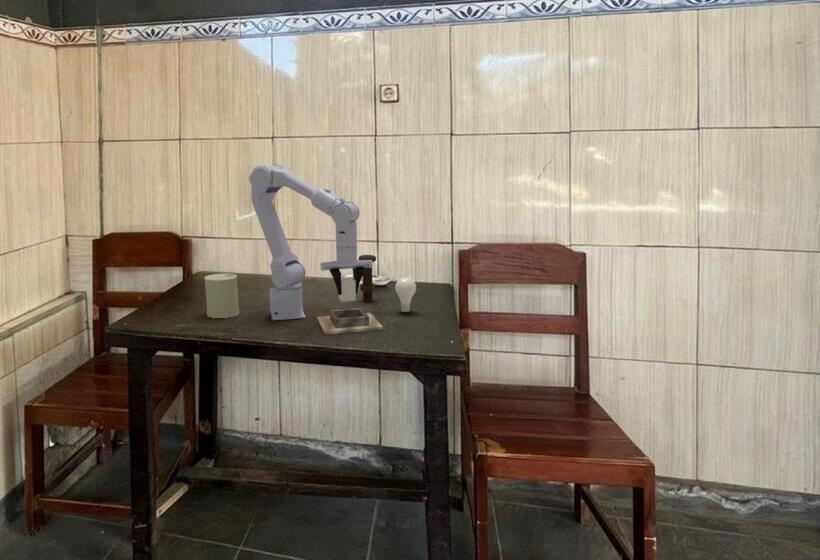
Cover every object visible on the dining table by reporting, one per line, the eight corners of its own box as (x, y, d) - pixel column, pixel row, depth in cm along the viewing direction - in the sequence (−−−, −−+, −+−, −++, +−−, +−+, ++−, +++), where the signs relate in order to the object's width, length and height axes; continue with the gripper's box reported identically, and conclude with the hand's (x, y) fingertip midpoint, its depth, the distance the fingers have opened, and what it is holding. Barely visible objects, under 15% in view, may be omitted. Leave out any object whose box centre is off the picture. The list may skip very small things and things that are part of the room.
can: (245, 314, 161) (243, 275, 158) (216, 320, 154) (213, 280, 152) (229, 308, 167) (227, 270, 164) (201, 314, 160) (198, 275, 158)
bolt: (372, 303, 174) (372, 258, 170) (357, 302, 175) (357, 257, 171) (377, 299, 179) (377, 254, 176) (362, 298, 180) (362, 254, 177)
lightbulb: (419, 311, 166) (419, 276, 164) (410, 316, 161) (410, 280, 158) (400, 308, 169) (401, 274, 166) (391, 313, 163) (391, 278, 161)
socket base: (324, 334, 144) (324, 323, 143) (317, 319, 157) (316, 309, 156) (382, 329, 148) (382, 318, 148) (370, 315, 161) (370, 305, 161)
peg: (341, 301, 151) (341, 280, 149) (339, 298, 155) (338, 277, 153) (355, 300, 152) (355, 279, 151) (352, 297, 156) (352, 276, 154)
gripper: (322, 249, 144) (324, 299, 147) (375, 247, 148) (375, 295, 151) (318, 245, 150) (320, 292, 153) (369, 243, 155) (369, 289, 158)
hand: (347, 293), depth 153 cm, fingers closed on peg, 4 cm apart
